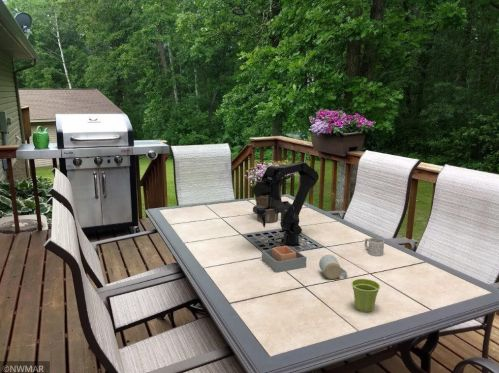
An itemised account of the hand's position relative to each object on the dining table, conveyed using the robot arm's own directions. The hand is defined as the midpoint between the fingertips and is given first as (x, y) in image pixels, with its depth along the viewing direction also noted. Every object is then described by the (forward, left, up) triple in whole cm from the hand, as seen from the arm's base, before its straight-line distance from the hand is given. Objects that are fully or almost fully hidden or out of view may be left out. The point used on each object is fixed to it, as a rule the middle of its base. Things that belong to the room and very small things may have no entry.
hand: (273, 226), depth 185 cm
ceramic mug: (-11, +34, -12) cm, 38 cm away
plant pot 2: (-6, +60, -12) cm, 62 cm away
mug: (-42, +20, -12) cm, 48 cm away
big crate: (+2, +16, -12) cm, 20 cm away
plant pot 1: (-18, -45, -12) cm, 50 cm away
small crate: (+2, +16, -12) cm, 20 cm away
